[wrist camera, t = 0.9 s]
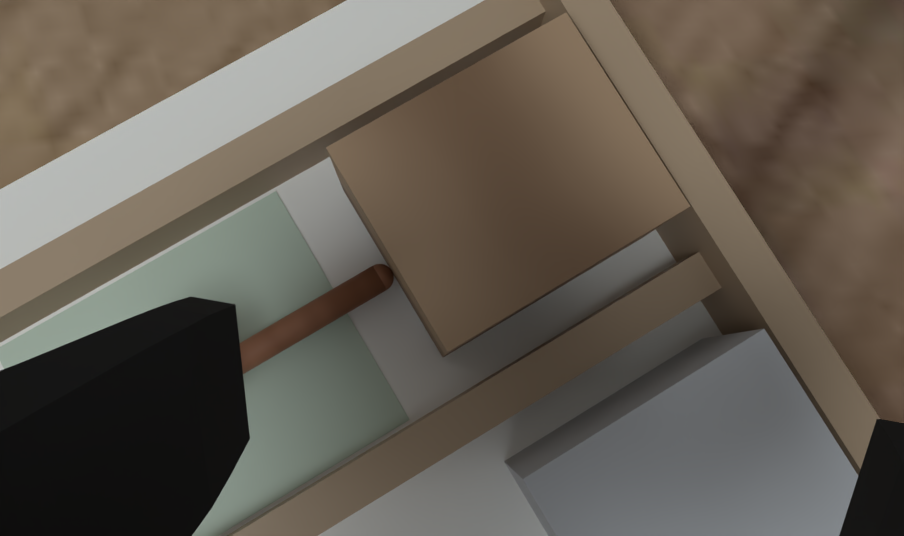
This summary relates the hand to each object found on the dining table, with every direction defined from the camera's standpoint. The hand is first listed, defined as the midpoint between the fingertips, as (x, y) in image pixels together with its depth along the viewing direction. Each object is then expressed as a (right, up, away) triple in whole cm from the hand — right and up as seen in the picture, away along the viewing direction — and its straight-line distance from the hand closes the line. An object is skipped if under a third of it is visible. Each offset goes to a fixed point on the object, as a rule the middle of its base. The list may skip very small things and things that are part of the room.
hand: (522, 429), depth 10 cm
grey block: (+4, -4, +12) cm, 13 cm away
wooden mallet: (-3, +1, +12) cm, 12 cm away
